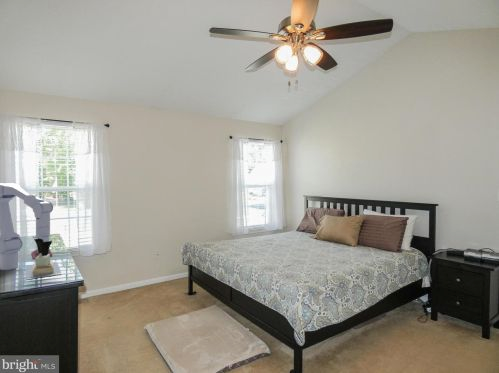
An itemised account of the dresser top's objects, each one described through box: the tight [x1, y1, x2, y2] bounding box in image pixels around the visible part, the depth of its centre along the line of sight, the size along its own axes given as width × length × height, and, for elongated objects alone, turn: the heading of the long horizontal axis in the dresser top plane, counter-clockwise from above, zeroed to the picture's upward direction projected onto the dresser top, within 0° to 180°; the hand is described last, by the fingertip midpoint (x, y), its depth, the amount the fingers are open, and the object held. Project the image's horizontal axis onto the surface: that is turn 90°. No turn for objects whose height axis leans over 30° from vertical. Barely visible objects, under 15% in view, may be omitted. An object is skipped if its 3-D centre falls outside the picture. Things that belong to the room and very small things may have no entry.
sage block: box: [34, 254, 52, 267], centre depth 146 cm, size 4×4×5 cm
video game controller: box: [30, 248, 53, 260], centre depth 174 cm, size 10×5×7 cm, turn 141°
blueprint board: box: [24, 261, 62, 281], centre depth 150 cm, size 24×14×4 cm, turn 37°
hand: (43, 254), depth 146 cm, fingers open, 7 cm apart
